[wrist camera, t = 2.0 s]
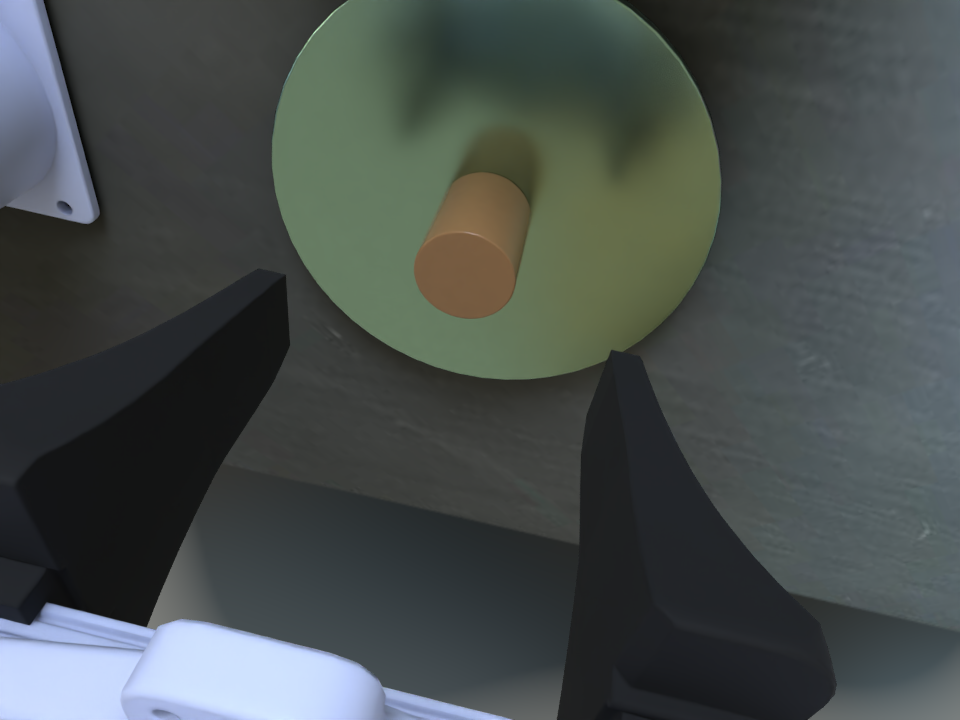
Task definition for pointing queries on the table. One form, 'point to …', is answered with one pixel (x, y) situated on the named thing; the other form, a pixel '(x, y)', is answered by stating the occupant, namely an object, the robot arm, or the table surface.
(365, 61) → the tin lid
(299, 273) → the table surface
